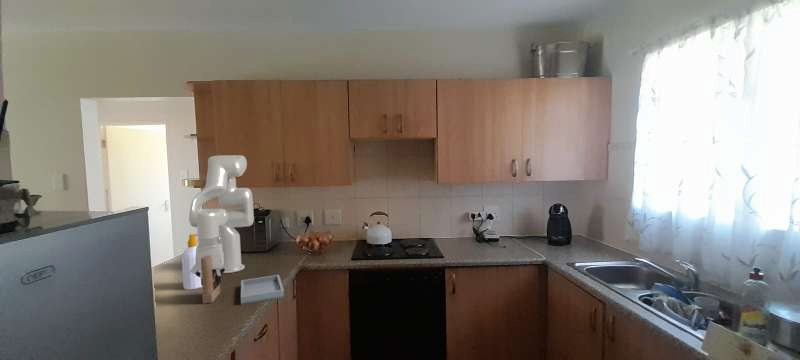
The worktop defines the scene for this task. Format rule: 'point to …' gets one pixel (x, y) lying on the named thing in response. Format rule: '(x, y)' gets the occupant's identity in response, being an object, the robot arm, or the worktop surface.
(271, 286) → the tray
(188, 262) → the soap bottle
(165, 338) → the worktop surface
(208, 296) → the wooden mallet
